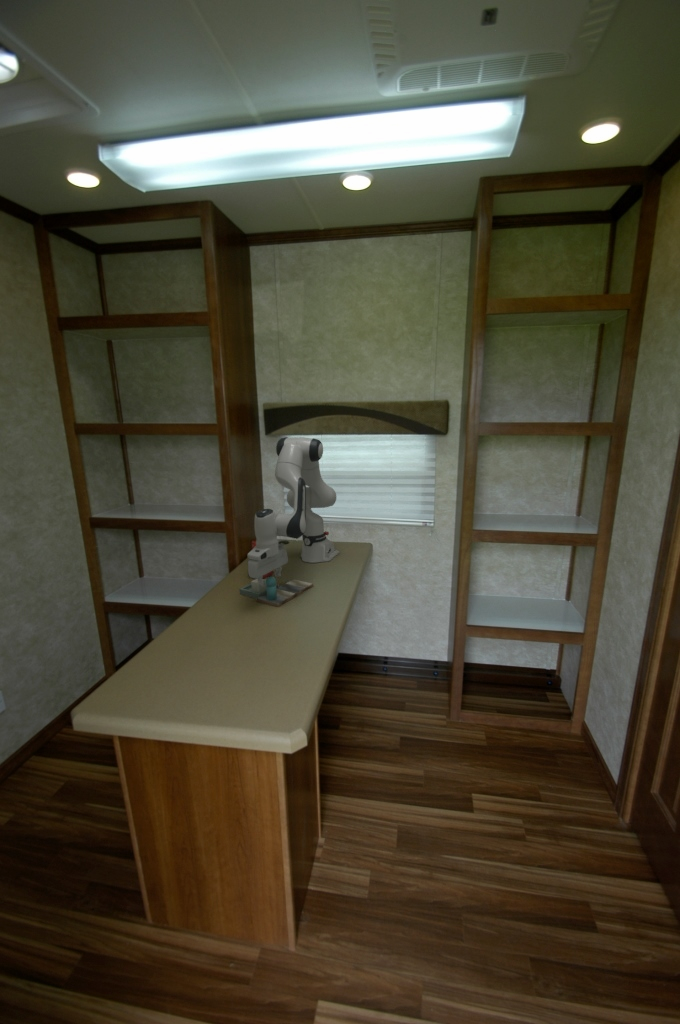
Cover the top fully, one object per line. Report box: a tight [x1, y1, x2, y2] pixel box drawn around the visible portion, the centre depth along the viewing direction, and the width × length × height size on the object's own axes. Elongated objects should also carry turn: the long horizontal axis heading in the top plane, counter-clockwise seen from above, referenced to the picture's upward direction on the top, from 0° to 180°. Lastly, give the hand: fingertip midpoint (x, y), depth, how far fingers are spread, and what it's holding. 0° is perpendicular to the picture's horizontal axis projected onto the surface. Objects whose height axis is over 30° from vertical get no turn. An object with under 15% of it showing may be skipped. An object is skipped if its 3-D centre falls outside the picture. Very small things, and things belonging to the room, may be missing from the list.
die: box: [250, 578, 266, 593], centre depth 189 cm, size 4×4×5 cm
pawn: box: [265, 576, 277, 600], centre depth 178 cm, size 4×4×10 cm
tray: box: [238, 583, 279, 600], centre depth 189 cm, size 12×12×2 cm
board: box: [255, 578, 314, 608], centre depth 186 cm, size 24×12×1 cm, turn 147°
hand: (270, 580), depth 177 cm, fingers open, 8 cm apart
